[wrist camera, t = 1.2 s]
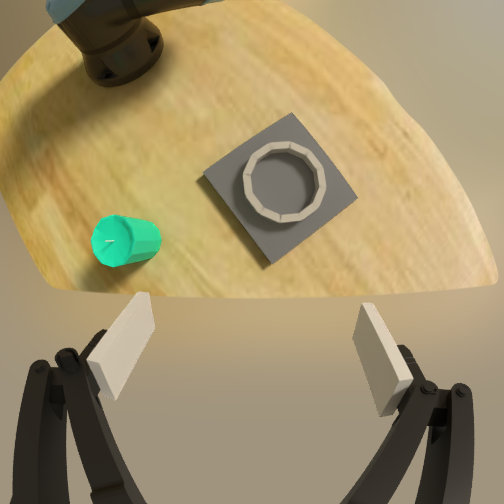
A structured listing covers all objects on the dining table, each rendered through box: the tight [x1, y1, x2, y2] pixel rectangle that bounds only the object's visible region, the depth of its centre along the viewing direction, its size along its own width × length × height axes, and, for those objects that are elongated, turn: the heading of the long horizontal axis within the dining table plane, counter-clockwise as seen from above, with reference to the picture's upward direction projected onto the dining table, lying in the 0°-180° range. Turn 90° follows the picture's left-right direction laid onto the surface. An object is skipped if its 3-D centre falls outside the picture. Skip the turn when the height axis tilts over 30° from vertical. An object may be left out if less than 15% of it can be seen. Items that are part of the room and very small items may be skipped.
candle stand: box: [203, 113, 358, 264], centre depth 37 cm, size 16×16×4 cm
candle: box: [91, 215, 162, 267], centre depth 33 cm, size 6×6×12 cm
